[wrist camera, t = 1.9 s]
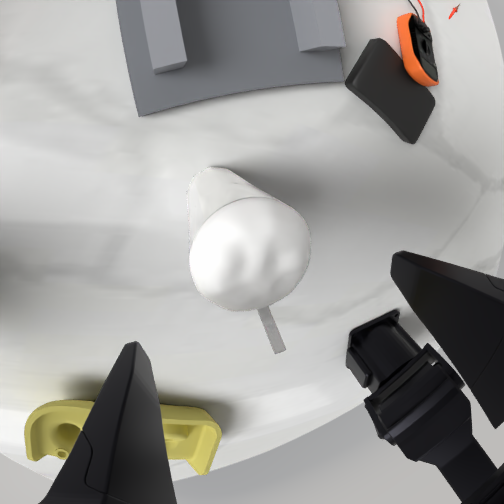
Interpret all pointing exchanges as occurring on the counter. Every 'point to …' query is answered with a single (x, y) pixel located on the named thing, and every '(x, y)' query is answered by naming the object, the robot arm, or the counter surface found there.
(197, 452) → the plastic component
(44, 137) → the counter surface
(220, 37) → the header socket
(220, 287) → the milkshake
